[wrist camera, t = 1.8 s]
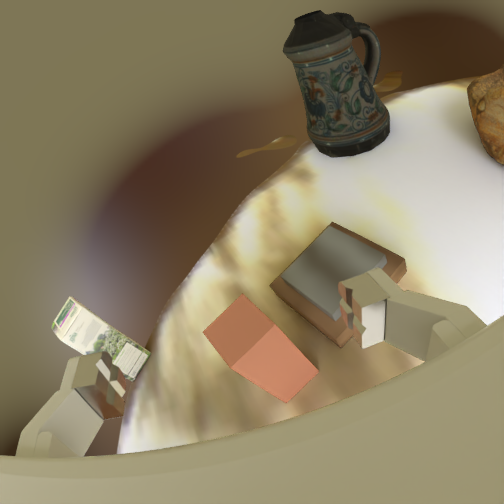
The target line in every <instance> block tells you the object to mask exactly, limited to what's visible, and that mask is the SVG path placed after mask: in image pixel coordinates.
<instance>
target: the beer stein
mask: <svg viewBox="0 0 504 504" xmlns="http://www.w3.org/2000/svg"><path fill="white" fill-rule="evenodd" d="M358 36H361V37H362V39H363V40H364V43H365V48H366V49H365V50H366V52H365V60H364V65H362V63H361V61H360V60H359V58H358V56H357V54H356V53H355V51H354V49H353V47H352V44H351V41H352V39H353V38H356V37H358ZM283 52H284V54H285V55H286V56H287V58H289V59H290V60H291V61H292V63H293V65H294V69H295V72H296V76H297V79H298V82H299V85H300V89H301V92H302V96H303V100H304V104H305V109H306V116H307V132H308V135H309V137H310V139H311V140H312V141H313V143H314V144H315V146H316V147H317V149H318V150H319V152H321V153H323V154H326V155H328V156H330V157H344V156H354V155H357V154H360V153H363V152H367V151H370V150H372V149H373V148H375V147H376V146H378V145H379V144H380V143H382V142H383V141H384V140H385V139H386V137H387V136H388V134H389V133H390V116H389V112H388V110H387V108H386V107H385V105H384V104H383V103H382V102H381V100H380V99H379V97H378V96H377V94H376V92H375V90H374V88H373V85H374V82H375V79H376V77H377V73H378V70H379V65H380V58H381V49H380V44H379V41H378V38H377V36H376V35H375V33H374V32H373V31H372V30H371V29H370V26H368V25H367V24H364V23H360V22H355V21H354V18H353V17H352V16H351V15H349V14H346V13H339V12H336V13H333V14H329V15H328V14H324V13H323V12H322V11H321V10H319V11H314V12H311V13H308V14H305V15H302V16H300V17H298V18H296V19H295V25H294V27H293V29H292V31H291V33H290V35H289V37H288V38H287V40H286V42H285V44H284V48H283Z"/></svg>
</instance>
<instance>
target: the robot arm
mask: <svg viewBox="0 0 504 504" xmlns="http://www.w3.org/2000/svg"><path fill="white" fill-rule="evenodd" d="M338 292H339V294H340V295H341V296H342V299H341V301H340V311H341V314H342V318H343V320H344V322H345V324H346V325H347V327H348V328H350V329H352V330H353V334H354V338H355V339H356V341H357V342H358V344H359V345H360V347H361V348H362V349H364V348H366V347H369V346H372V345H374V344H377V343H379V342H382V341H384V340H385V342H387V343H389V344H391V345H393V346H395V347H397V348H399V349H401V350H403V351H405V352H407V353H409V354H411V355H413V356H415V357H417V358H419V359H421V360H423V361H425V362H424V363H423V364H421V365H419V366H417V367H415V368H413V369H411V370H409V371H407V372H405V373H403V374H400V375H398V376H396V377H394V378H392V379H390V380H388V381H386V382H383V383H381V384H379V385H377V386H374V387H372V388H370V389H367V390H365V391H363V392H360V393H358V394H356V395H353V396H351V397H348V398H346V399H343V400H341V401H338V402H335V403H333V404H330V405H327V406H325V407H322V408H319V409H316V410H314V411H311V412H308V413H305V414H302V415H299V416H296V417H293V418H290V419H287V420H284V421H280V422H277V423H274V424H270V425H267V426H263V427H260V428H256V429H253V430H249V431H245V432H241V433H237V434H233V435H229V436H225V437H221V438H216V439H212V440H207V441H202V442H197V443H192V444H187V445H182V446H176V447H170V448H164V449H157V450H150V451H143V452H135V453H126V454H116V455H104V456H90V457H83V456H84V454H85V453H86V451H87V449H88V448H89V446H90V444H91V442H92V441H93V439H94V437H95V435H96V434H97V432H98V430H99V428H100V427H101V425H102V423H103V422H104V420H105V419H112V418H117V417H123V415H124V404H125V401H124V400H123V399H122V396H123V395H124V393H125V392H126V382H125V377H124V375H123V373H122V371H121V370H120V368H119V367H118V366H116V365H114V364H112V360H113V358H112V357H111V356H110V354H109V353H108V352H106V351H102V352H97V353H92V354H87V355H83V356H78V357H74V358H71V359H70V360H69V361H68V364H67V367H66V370H65V374H64V377H63V381H62V384H61V388H60V391H57V392H56V393H55V394H54V395H53V396H52V397H51V398H50V399H49V401H48V402H47V403H46V404H45V405H44V406H43V407H42V409H41V410H40V411H39V412H38V413H37V414H36V415H35V417H34V418H33V419H32V420H31V421H30V422H29V424H28V425H27V426H26V427H25V428H24V429H23V431H22V432H21V436H20V440H19V444H18V448H17V452H16V456H1V455H0V504H504V315H503V316H501V317H500V318H499V319H497V320H496V321H494V322H493V323H491V324H490V325H488V326H487V325H486V324H485V323H484V322H483V321H482V320H481V319H480V318H478V317H477V316H476V315H475V314H474V313H473V312H472V311H471V310H470V309H469V308H468V307H467V306H464V305H460V304H456V303H453V302H449V301H446V300H442V299H438V298H435V297H431V296H427V295H424V294H420V293H416V292H413V291H409V290H407V291H403V290H402V289H401V288H400V287H399V286H398V285H397V284H396V283H395V282H394V281H393V280H392V279H391V278H390V277H389V276H388V275H387V274H386V273H385V272H384V271H383V270H382V269H381V268H378V267H377V268H375V269H372V270H370V271H367V272H365V273H363V274H360V275H358V276H355V277H352V278H349V279H347V280H344V281H341V282H339V284H338Z"/></svg>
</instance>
